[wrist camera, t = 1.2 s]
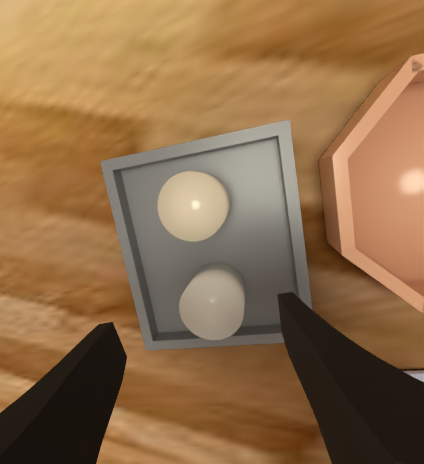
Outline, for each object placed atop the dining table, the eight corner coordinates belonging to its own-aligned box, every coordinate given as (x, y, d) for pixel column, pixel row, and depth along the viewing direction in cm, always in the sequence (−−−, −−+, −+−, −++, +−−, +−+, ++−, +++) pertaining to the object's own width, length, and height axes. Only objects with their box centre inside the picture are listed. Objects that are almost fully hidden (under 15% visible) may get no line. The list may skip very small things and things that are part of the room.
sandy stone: (235, 226, 20) (231, 236, 16) (180, 234, 20) (165, 245, 17) (226, 167, 19) (219, 164, 15) (169, 178, 20) (150, 178, 16)
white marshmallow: (249, 311, 21) (248, 338, 17) (197, 315, 22) (185, 341, 18) (241, 259, 20) (237, 275, 16) (187, 265, 21) (173, 283, 17)
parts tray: (310, 325, 21) (316, 340, 19) (155, 336, 24) (145, 350, 22) (286, 125, 18) (289, 119, 16) (114, 163, 21) (100, 161, 19)
